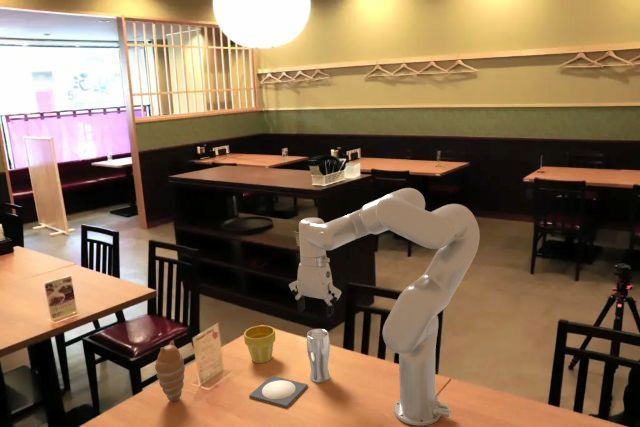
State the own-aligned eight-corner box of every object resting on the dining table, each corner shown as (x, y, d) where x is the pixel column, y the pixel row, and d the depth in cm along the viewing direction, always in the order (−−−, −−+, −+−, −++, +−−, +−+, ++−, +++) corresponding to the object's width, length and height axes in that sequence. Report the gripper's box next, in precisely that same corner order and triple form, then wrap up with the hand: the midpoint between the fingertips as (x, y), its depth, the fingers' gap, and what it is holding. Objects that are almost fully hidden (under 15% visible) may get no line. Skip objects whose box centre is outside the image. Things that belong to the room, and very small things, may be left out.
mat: (307, 386, 160) (307, 384, 159) (286, 408, 149) (286, 405, 149) (271, 377, 166) (271, 375, 165) (249, 397, 155) (249, 394, 155)
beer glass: (322, 386, 159) (319, 340, 156) (304, 379, 164) (301, 335, 160) (335, 375, 165) (333, 331, 161) (317, 369, 169) (315, 326, 165)
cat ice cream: (174, 389, 162) (167, 335, 158) (194, 394, 158) (188, 339, 154) (153, 405, 154) (146, 348, 150) (174, 411, 151) (167, 353, 147)
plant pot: (246, 352, 183) (244, 326, 180) (276, 349, 184) (274, 323, 181) (245, 367, 173) (243, 340, 170) (277, 364, 174) (275, 337, 171)
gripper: (345, 259, 154) (346, 313, 159) (294, 252, 163) (297, 304, 167) (333, 267, 148) (335, 323, 152) (281, 260, 156) (284, 313, 160)
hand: (315, 313), depth 159 cm, fingers open, 9 cm apart
